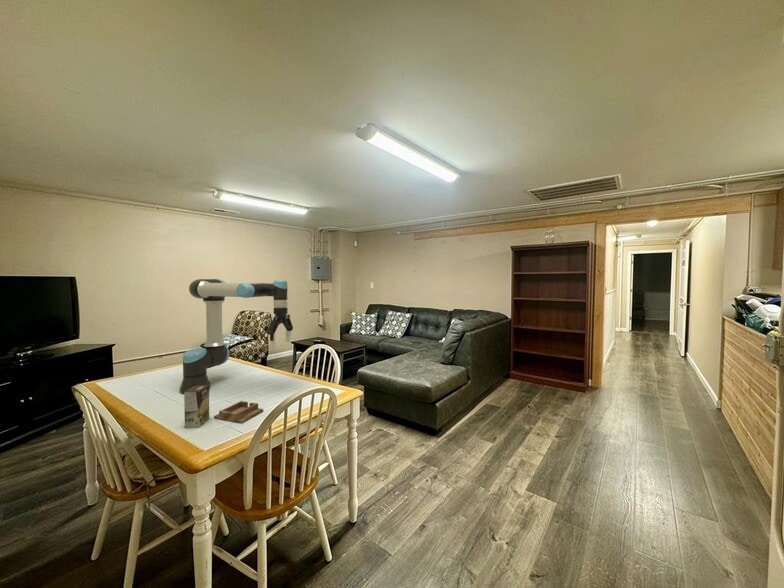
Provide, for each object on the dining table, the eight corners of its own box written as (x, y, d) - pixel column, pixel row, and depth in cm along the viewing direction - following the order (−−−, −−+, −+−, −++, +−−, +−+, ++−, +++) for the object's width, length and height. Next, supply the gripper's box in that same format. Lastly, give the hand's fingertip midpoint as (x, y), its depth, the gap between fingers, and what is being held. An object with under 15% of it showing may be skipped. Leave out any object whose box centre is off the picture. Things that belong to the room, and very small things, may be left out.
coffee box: (199, 428, 136) (199, 391, 136) (184, 428, 136) (183, 392, 135) (210, 418, 146) (209, 384, 145) (195, 419, 145) (195, 384, 144)
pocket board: (213, 418, 146) (213, 410, 145) (237, 407, 159) (237, 400, 159) (241, 423, 141) (241, 415, 141) (263, 411, 154) (263, 404, 154)
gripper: (271, 309, 166) (271, 348, 167) (299, 305, 189) (299, 340, 190) (259, 308, 168) (260, 347, 169) (288, 305, 192) (288, 339, 193)
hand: (280, 344), depth 180 cm, fingers open, 13 cm apart
